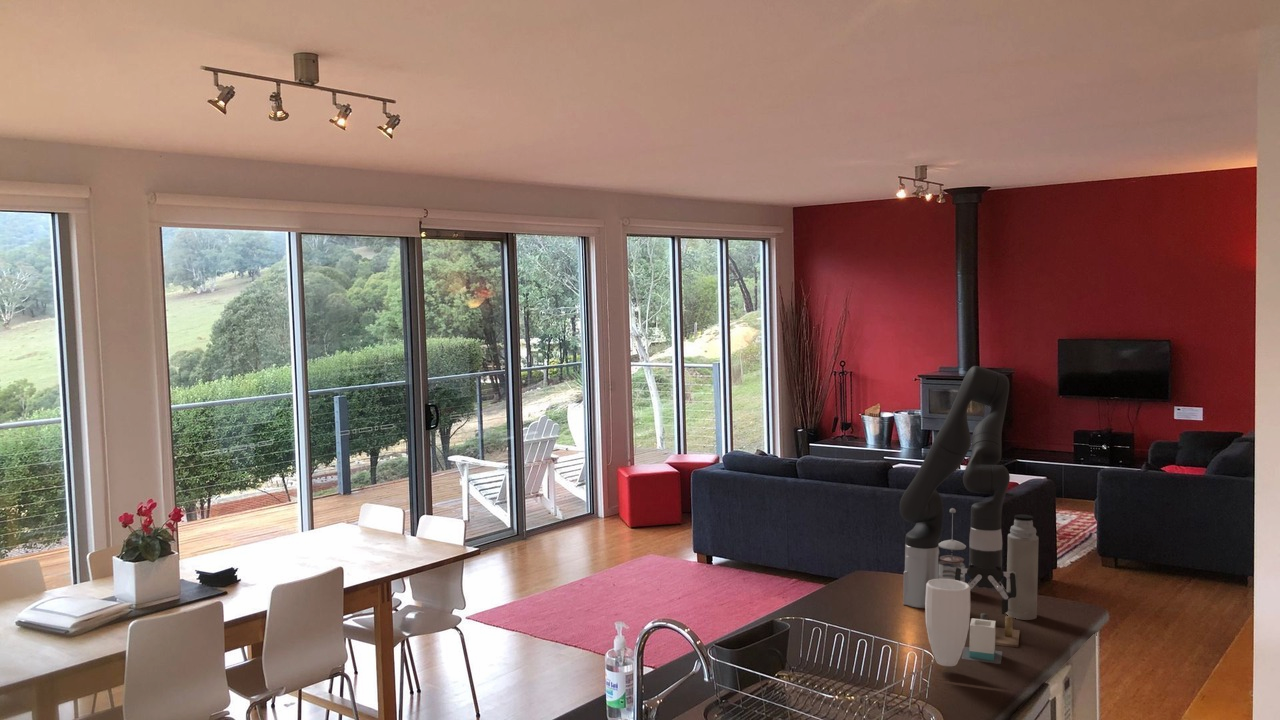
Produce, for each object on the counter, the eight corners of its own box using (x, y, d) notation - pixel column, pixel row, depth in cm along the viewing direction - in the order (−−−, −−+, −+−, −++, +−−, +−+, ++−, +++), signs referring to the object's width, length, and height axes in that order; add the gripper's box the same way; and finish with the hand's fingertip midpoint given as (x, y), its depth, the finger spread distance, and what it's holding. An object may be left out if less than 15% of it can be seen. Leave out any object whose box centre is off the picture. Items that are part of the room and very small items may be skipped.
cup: (933, 663, 237) (935, 575, 236) (976, 673, 231) (978, 583, 229) (915, 676, 229) (917, 585, 228) (959, 687, 223) (961, 593, 221)
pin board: (971, 643, 250) (972, 620, 250) (975, 629, 262) (975, 606, 261) (1018, 649, 246) (1018, 625, 246) (1019, 634, 257) (1020, 611, 257)
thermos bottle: (1002, 610, 277) (1004, 512, 276) (1031, 611, 277) (1034, 512, 275) (1010, 619, 269) (1012, 518, 268) (1040, 620, 269) (1043, 519, 267)
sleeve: (969, 657, 239) (969, 625, 239) (970, 649, 245) (971, 618, 244) (993, 660, 237) (994, 628, 237) (994, 652, 242) (995, 620, 242)
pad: (961, 661, 239) (961, 658, 239) (964, 648, 247) (964, 646, 247) (1000, 666, 235) (1000, 663, 235) (1002, 653, 243) (1002, 651, 243)
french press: (970, 596, 291) (972, 512, 289) (929, 593, 293) (931, 510, 291) (966, 586, 300) (967, 505, 299) (926, 584, 303) (928, 504, 301)
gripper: (953, 547, 239) (953, 612, 239) (1016, 552, 233) (1015, 619, 234) (956, 540, 245) (955, 604, 246) (1017, 544, 240) (1016, 610, 241)
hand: (984, 611), depth 240 cm, fingers open, 8 cm apart
